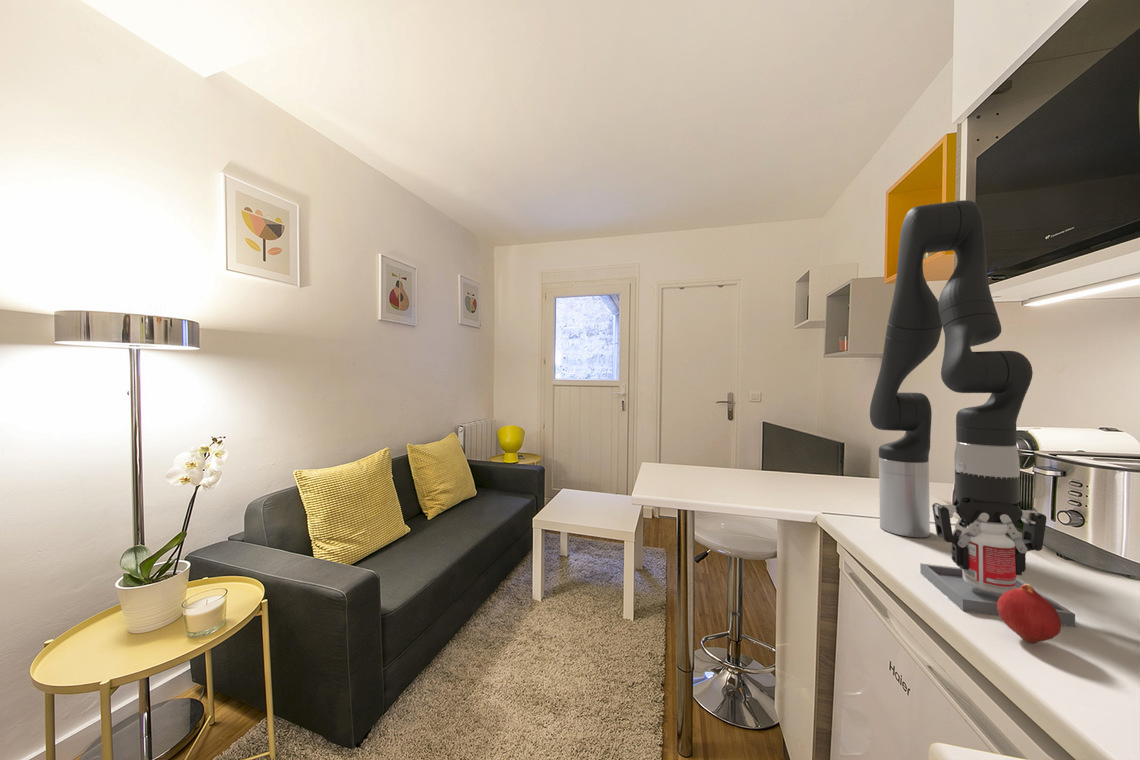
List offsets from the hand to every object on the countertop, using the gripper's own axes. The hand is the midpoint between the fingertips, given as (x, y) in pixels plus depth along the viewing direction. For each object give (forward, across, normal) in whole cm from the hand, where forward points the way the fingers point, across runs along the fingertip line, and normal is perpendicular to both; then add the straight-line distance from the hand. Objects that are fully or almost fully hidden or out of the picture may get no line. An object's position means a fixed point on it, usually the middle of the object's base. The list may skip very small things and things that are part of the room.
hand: (987, 569), depth 66 cm
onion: (+5, +2, +13) cm, 14 cm away
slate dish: (+4, 0, 0) cm, 4 cm away
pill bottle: (+3, 0, 0) cm, 3 cm away
